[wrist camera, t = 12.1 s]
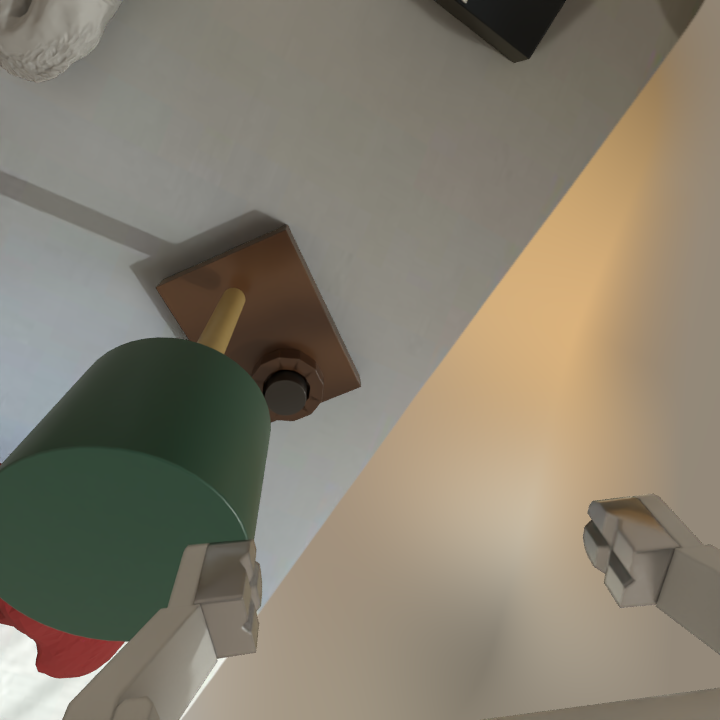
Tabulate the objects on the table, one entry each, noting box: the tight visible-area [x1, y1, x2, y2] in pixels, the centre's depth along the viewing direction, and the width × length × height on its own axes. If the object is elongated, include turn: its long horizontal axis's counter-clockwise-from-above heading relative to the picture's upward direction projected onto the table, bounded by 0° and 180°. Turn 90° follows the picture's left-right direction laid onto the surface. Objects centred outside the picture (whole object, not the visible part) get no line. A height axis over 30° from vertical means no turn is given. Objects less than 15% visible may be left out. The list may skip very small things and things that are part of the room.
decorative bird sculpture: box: [0, 463, 124, 678], centre depth 50 cm, size 28×9×15 cm
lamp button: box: [265, 371, 307, 415], centre depth 43 cm, size 4×4×2 cm
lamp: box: [0, 288, 271, 642], centre depth 28 cm, size 9×9×26 cm
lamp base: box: [156, 225, 361, 422], centre depth 43 cm, size 16×12×4 cm
